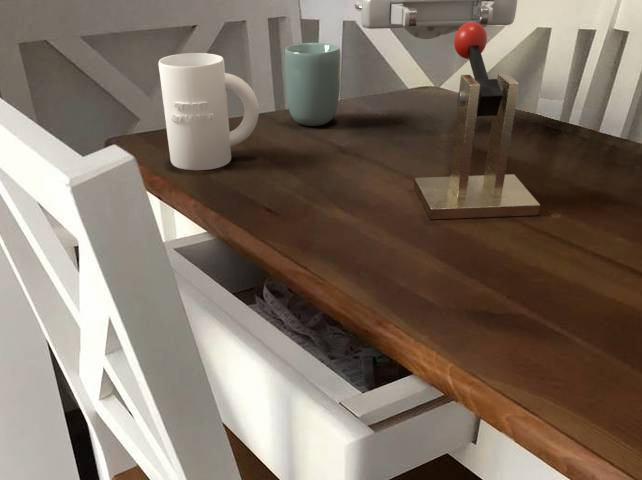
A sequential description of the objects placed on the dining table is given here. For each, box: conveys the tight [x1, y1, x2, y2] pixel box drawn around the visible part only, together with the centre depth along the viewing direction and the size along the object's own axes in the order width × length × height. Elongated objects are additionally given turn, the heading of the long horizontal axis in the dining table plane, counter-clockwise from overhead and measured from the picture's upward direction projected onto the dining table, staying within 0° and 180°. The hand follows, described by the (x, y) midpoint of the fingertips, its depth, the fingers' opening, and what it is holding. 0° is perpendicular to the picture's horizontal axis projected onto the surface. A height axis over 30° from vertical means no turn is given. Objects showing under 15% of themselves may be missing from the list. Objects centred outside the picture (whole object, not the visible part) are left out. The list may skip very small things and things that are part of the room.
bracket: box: [413, 73, 541, 220], centre depth 80 cm, size 10×12×13 cm
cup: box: [284, 42, 342, 127], centre depth 107 cm, size 8×8×10 cm
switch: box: [453, 22, 502, 117], centre depth 80 cm, size 13×4×4 cm, turn 4°
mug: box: [157, 52, 260, 171], centre depth 93 cm, size 8×12×12 cm
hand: (448, 17), depth 91 cm, fingers open, 8 cm apart
